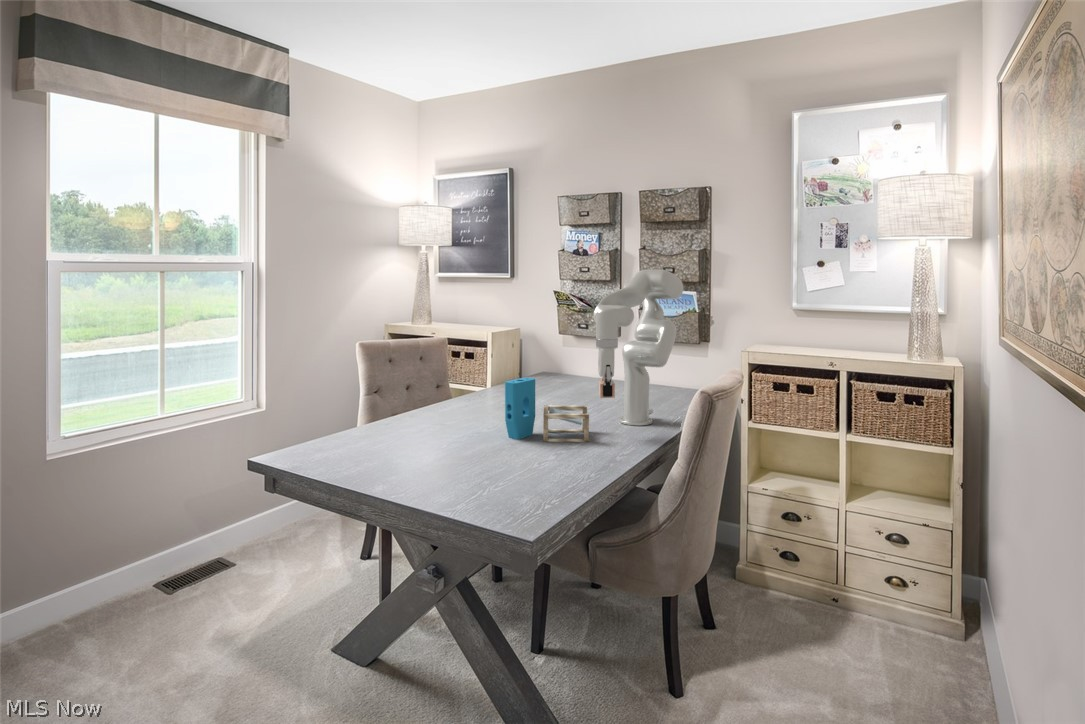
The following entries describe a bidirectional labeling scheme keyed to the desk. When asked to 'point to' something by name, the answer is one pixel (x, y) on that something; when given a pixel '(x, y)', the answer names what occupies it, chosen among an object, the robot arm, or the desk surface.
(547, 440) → the frame
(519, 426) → the block
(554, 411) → the trapdoor plate
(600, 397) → the terracotta block
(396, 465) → the desk surface
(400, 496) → the desk surface
